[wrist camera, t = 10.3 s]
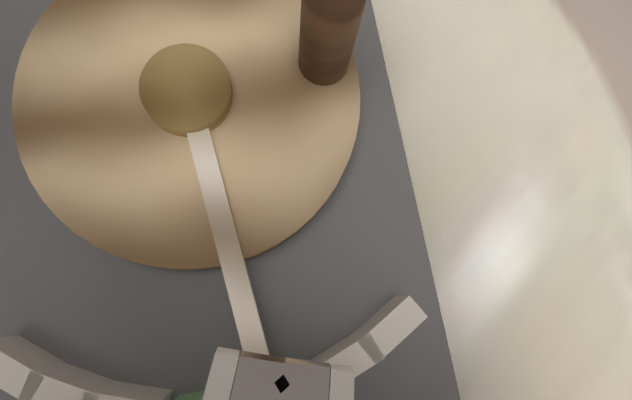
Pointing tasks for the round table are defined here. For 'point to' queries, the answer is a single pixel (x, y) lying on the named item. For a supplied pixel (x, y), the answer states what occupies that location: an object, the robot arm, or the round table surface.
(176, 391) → the dial board
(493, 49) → the round table surface
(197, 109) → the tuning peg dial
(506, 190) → the round table surface
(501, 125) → the round table surface
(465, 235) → the round table surface
